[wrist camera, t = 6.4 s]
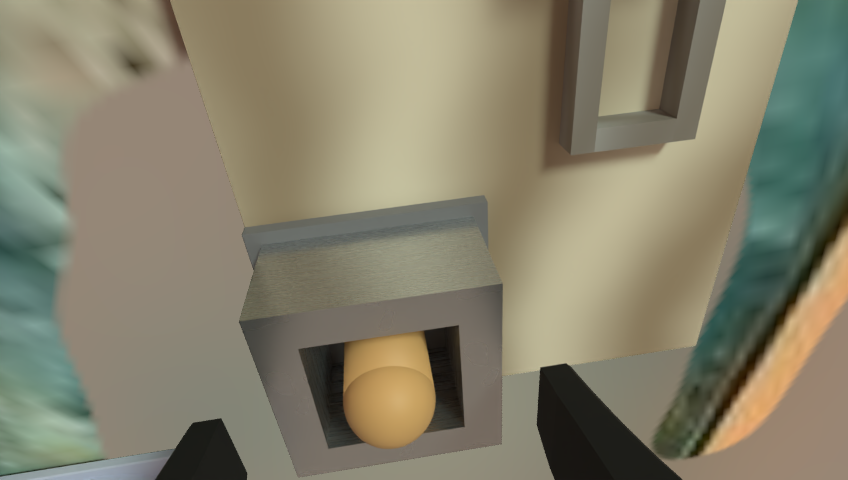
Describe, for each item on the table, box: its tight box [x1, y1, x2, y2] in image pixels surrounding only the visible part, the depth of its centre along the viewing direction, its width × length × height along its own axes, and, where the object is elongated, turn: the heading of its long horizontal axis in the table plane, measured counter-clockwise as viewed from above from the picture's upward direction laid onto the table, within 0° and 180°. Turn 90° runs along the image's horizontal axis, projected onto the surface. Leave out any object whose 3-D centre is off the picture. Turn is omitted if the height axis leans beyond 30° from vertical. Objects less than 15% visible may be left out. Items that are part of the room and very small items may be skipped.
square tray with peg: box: [242, 195, 488, 449], centre depth 13 cm, size 6×6×5 cm
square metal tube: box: [239, 216, 503, 477], centre depth 13 cm, size 6×6×3 cm
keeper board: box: [170, 0, 798, 376], centre depth 12 cm, size 14×18×3 cm
